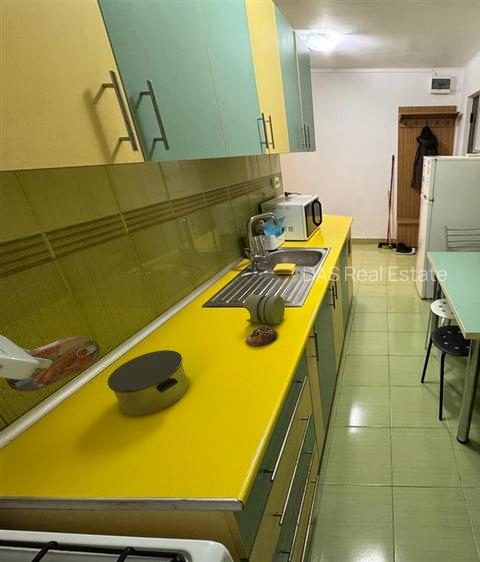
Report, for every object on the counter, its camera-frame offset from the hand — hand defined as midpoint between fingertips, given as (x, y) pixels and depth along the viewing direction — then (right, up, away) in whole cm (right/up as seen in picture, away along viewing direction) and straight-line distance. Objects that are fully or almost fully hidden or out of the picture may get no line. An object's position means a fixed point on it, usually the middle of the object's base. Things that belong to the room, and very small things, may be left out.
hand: (45, 360), depth 66 cm
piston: (+27, +1, +60) cm, 65 cm away
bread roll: (+29, -4, +48) cm, 56 cm away
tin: (0, -5, +3) cm, 6 cm away
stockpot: (+9, -15, +22) cm, 28 cm away
